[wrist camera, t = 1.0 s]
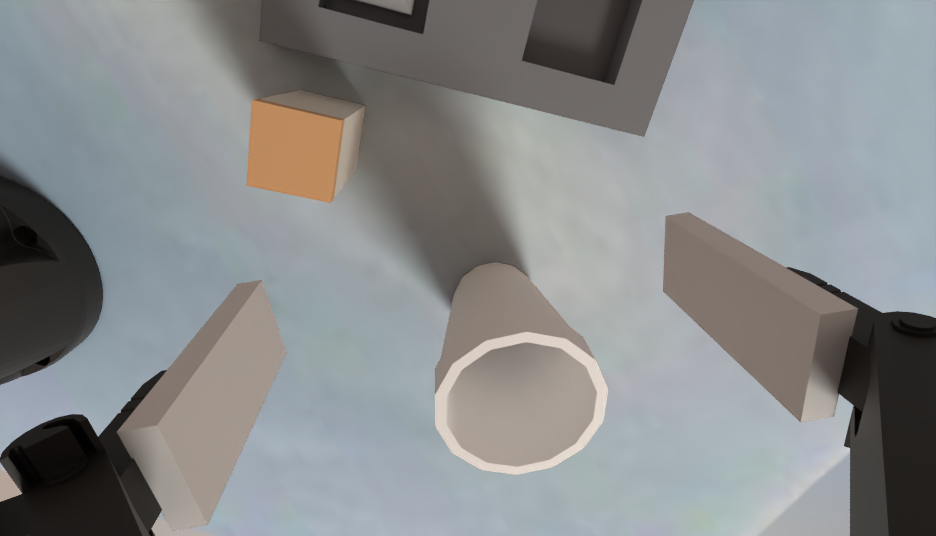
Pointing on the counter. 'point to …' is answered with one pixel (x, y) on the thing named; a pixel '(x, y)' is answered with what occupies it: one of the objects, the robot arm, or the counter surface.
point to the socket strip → (504, 49)
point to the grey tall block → (392, 5)
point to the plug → (304, 144)
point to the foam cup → (514, 377)
